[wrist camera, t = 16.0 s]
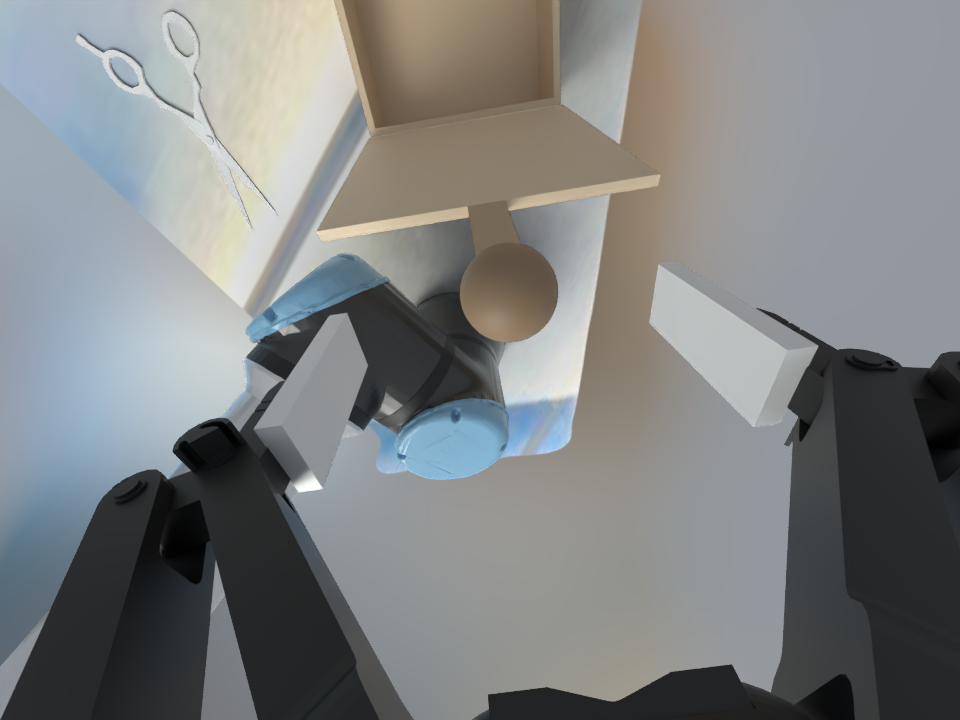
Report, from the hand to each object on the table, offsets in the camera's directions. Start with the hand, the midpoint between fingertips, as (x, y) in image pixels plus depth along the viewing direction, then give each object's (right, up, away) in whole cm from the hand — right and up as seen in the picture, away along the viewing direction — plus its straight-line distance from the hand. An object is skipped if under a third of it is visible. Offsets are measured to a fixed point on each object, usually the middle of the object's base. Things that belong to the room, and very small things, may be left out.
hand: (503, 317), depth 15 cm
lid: (-1, +11, +6) cm, 13 cm away
